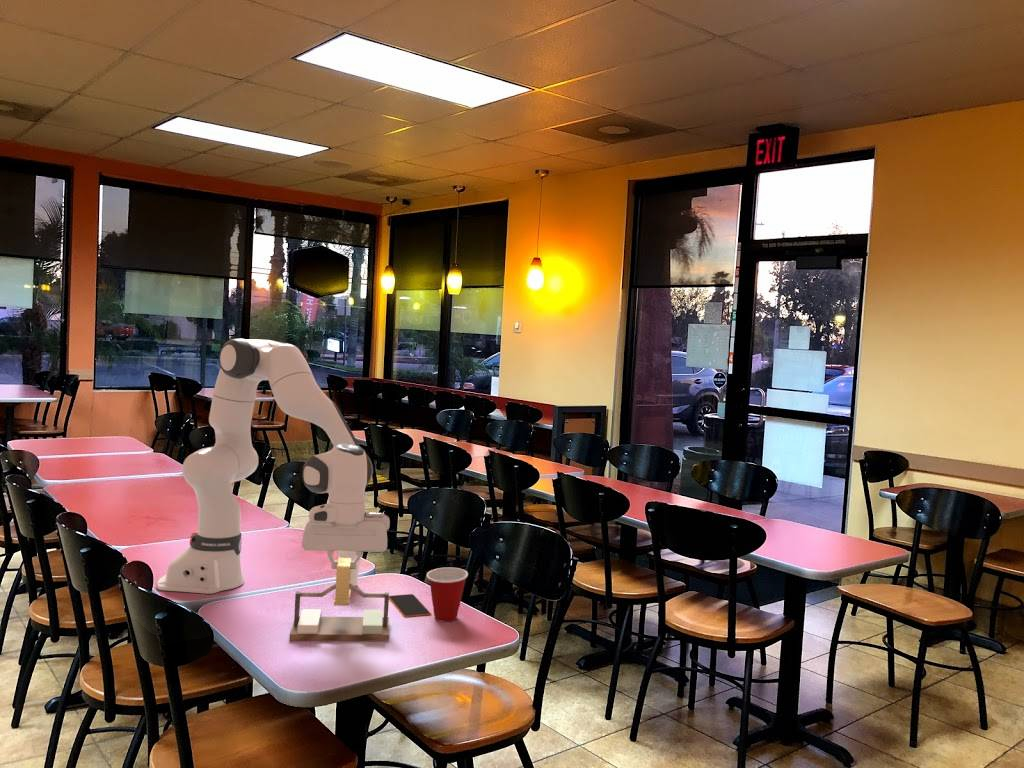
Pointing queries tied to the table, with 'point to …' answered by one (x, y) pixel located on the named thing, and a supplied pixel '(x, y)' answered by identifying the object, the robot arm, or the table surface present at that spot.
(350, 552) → the white cylinder
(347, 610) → the table surface
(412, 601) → the smartphone
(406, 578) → the table surface
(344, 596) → the yellow upright block
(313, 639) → the buzz wire
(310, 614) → the block
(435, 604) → the plastic cup
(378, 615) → the end block
